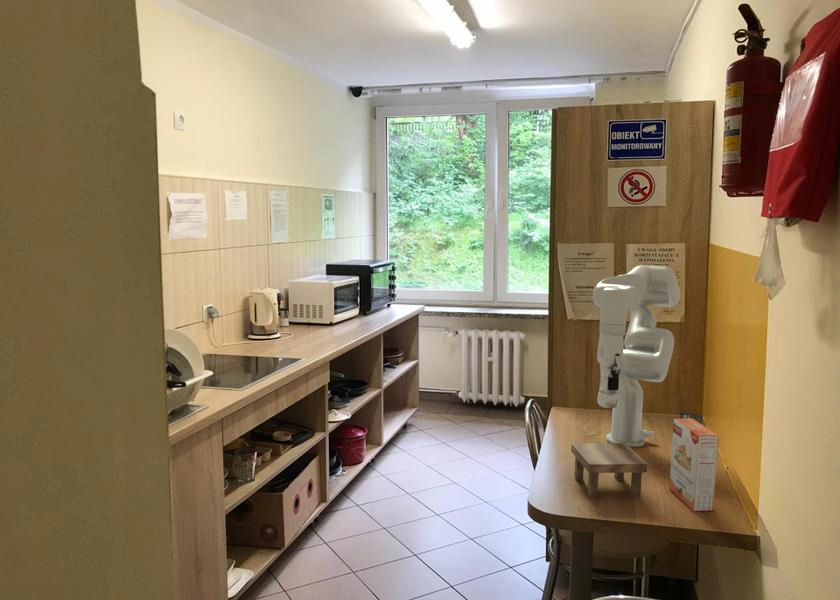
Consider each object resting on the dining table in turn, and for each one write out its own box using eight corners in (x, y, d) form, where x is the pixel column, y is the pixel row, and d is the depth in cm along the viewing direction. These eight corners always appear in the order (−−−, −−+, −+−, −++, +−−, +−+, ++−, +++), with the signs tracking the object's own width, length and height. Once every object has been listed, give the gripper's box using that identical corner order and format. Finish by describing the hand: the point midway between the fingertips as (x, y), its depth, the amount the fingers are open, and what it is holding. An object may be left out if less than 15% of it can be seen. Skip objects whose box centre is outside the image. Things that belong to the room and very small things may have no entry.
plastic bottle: (612, 404, 205) (616, 340, 203) (622, 410, 198) (626, 345, 196) (593, 404, 204) (596, 341, 201) (602, 411, 197) (606, 345, 195)
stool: (623, 475, 194) (625, 443, 193) (645, 499, 178) (647, 463, 177) (569, 476, 193) (571, 443, 192) (587, 500, 177) (589, 464, 176)
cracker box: (667, 489, 185) (672, 417, 182) (688, 489, 185) (693, 417, 183) (691, 512, 171) (697, 434, 168) (713, 511, 172) (720, 434, 169)
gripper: (591, 323, 206) (587, 380, 209) (610, 333, 189) (606, 395, 192) (614, 323, 207) (611, 380, 209) (635, 334, 190) (632, 395, 192)
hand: (609, 386), depth 200 cm, fingers closed on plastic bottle, 5 cm apart
